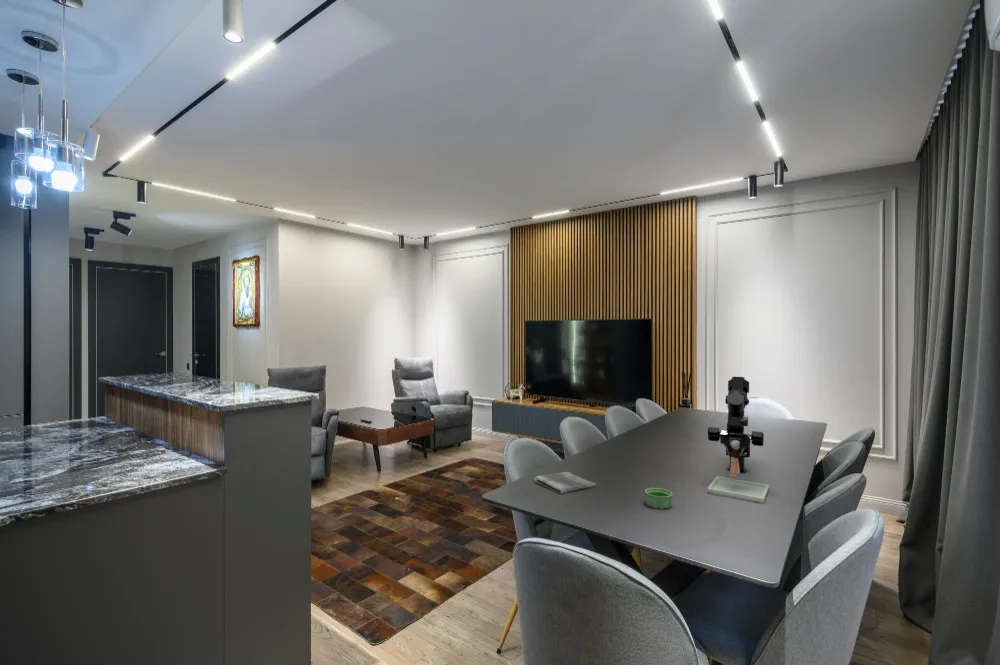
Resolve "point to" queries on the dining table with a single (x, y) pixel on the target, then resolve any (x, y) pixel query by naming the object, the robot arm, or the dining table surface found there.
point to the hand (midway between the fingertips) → (734, 455)
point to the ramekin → (658, 498)
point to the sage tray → (739, 489)
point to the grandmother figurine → (734, 458)
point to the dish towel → (563, 482)
